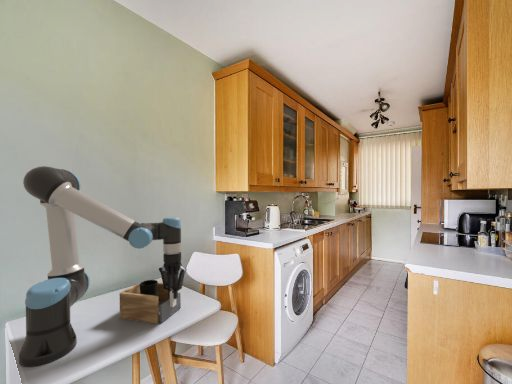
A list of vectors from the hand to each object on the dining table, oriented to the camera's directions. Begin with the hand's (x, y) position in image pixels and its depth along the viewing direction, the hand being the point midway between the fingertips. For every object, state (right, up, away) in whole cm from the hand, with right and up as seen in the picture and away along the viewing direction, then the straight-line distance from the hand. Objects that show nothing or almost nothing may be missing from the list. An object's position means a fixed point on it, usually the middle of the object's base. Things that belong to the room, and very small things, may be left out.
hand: (173, 305), depth 107 cm
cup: (-12, -3, +3) cm, 13 cm away
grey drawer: (-9, -4, +3) cm, 11 cm away
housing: (-12, -5, +3) cm, 13 cm away
